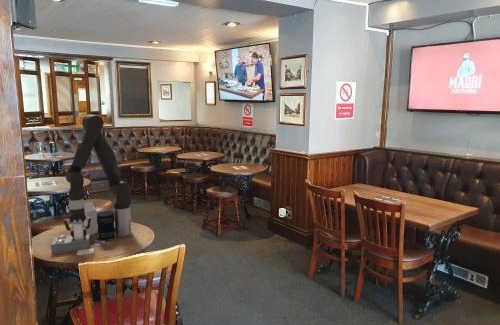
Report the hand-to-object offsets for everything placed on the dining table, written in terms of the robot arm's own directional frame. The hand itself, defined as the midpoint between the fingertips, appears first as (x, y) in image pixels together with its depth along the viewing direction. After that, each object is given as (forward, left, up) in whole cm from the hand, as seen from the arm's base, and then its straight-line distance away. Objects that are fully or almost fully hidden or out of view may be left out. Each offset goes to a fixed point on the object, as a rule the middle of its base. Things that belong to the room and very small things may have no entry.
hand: (79, 236), depth 201 cm
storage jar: (-14, -10, -6) cm, 18 cm away
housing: (+4, 0, -6) cm, 7 cm away
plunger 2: (+9, +3, -5) cm, 11 cm away
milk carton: (-3, -21, -6) cm, 22 cm away
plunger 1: (+9, -3, -5) cm, 11 cm away
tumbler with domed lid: (0, 0, -6) cm, 6 cm away
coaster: (-4, +10, -6) cm, 12 cm away
